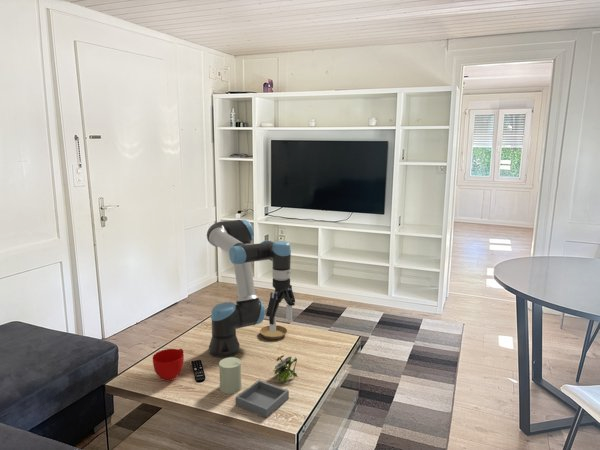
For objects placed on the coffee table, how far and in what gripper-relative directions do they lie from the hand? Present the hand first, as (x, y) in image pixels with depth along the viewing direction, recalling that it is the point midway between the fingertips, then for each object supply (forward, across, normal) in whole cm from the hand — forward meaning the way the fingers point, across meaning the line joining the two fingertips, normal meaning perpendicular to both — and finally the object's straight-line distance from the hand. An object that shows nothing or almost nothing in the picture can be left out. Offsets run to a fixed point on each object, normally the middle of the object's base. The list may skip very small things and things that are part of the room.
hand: (281, 324), depth 188 cm
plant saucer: (+25, +34, +25) cm, 49 cm away
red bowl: (+24, -24, +42) cm, 54 cm away
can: (+24, -19, +13) cm, 33 cm away
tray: (+24, -21, -4) cm, 32 cm away
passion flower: (+24, 0, -3) cm, 24 cm away
